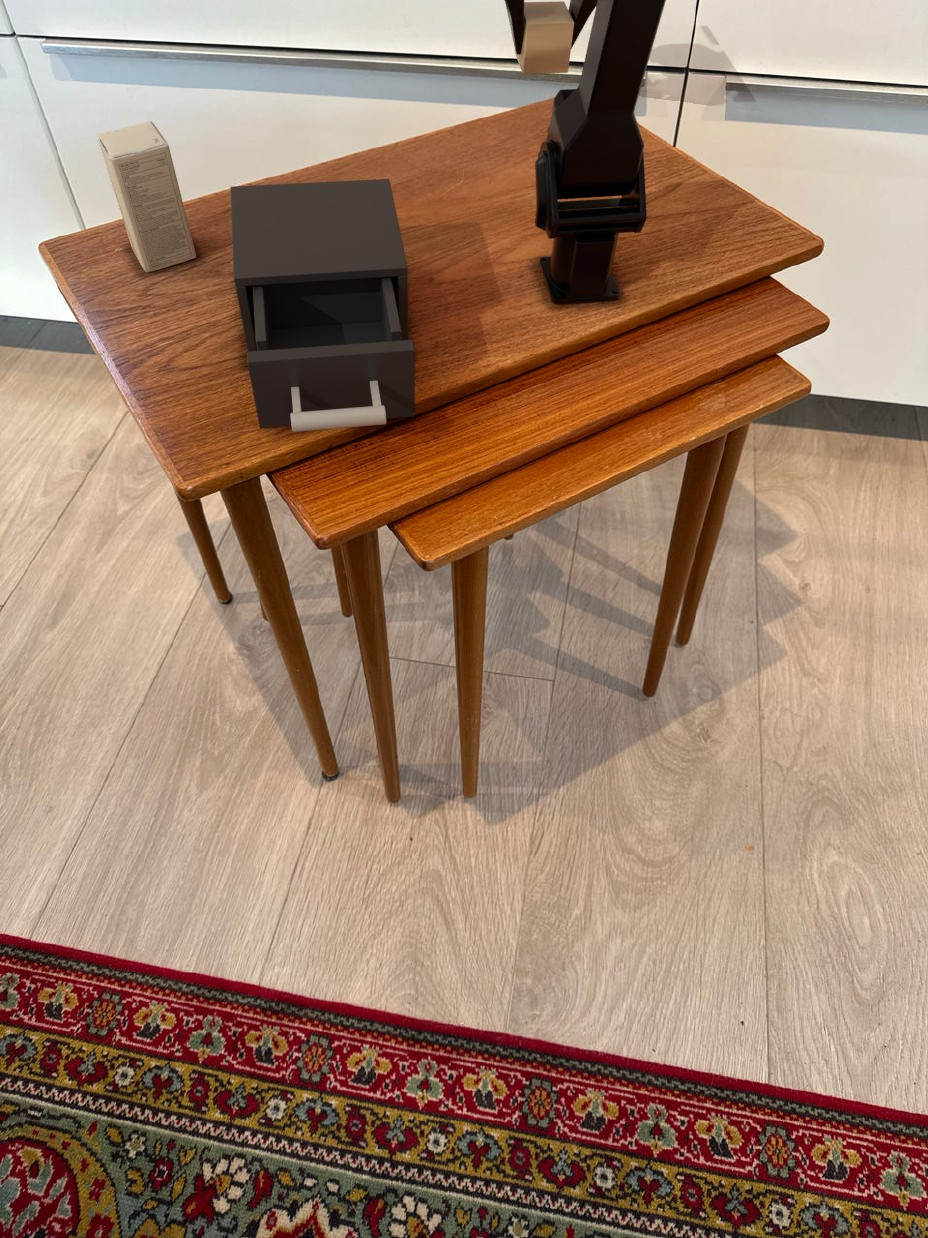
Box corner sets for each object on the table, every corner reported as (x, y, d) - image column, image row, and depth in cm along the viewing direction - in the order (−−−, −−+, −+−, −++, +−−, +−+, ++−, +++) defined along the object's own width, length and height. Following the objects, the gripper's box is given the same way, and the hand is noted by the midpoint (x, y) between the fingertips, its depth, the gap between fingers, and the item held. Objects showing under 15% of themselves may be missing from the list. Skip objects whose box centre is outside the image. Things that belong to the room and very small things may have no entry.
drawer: (421, 454, 72) (422, 388, 66) (262, 468, 71) (248, 401, 65) (397, 324, 81) (396, 256, 75) (254, 334, 79) (242, 265, 73)
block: (568, 72, 89) (574, 21, 85) (522, 74, 89) (527, 23, 85) (558, 51, 92) (564, 0, 88) (514, 52, 91) (518, 1, 87)
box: (182, 234, 88) (155, 118, 79) (198, 259, 86) (172, 142, 77) (128, 249, 86) (94, 131, 77) (143, 274, 84) (110, 157, 75)
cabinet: (408, 353, 80) (407, 267, 73) (250, 365, 78) (233, 278, 71) (391, 264, 87) (389, 178, 80) (245, 273, 85) (230, 185, 78)
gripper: (645, -182, 82) (615, 12, 95) (439, -183, 80) (436, 16, 93) (680, -138, 76) (642, 64, 89) (457, -137, 74) (451, 69, 86)
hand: (542, 51), depth 89 cm, fingers closed on block, 4 cm apart
